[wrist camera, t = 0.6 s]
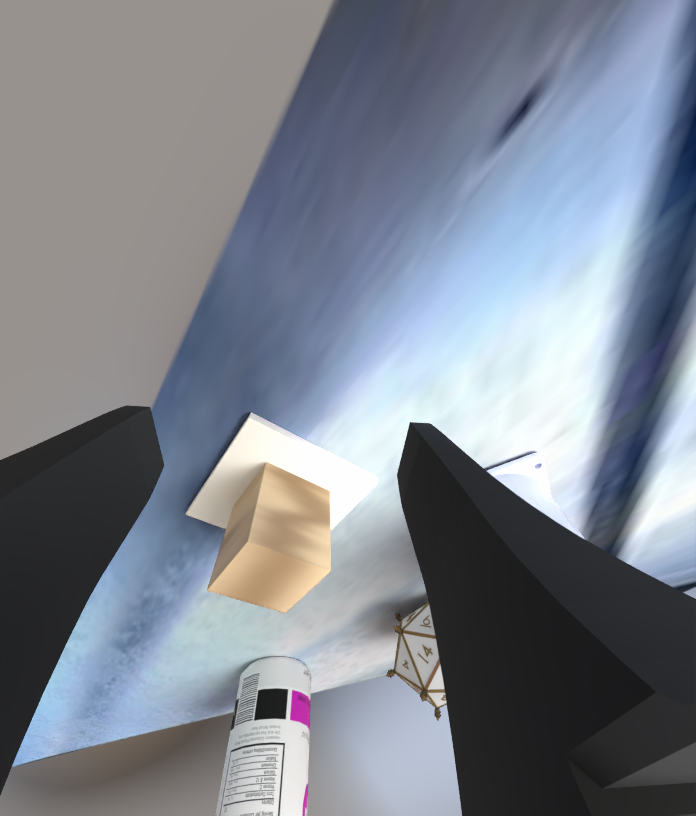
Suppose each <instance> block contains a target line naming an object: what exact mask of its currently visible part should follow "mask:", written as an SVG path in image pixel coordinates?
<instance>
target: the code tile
mask: <svg viewBox="0 0 696 816" xmlns="http://www.w3.org/2000/svg"><path fill="white" fill-rule="evenodd" d="M266 462H268V463H270V464H272V465H274V466H276V467H279V468H281V469H283V470H285V471H287V472H289V473H292V474H294V475H296V476H298V477H300V478H303V479H305V480H307V481H309V482H311V483H313V484H316V485H318V486H320V487H322V488H324V489H326V490H329V491H330V531H331V530H332V529H333V528H334V527H335V526H336V525H337V524H338V523H339V522H340V521H341V520H342V519H343V518H344V517H345V516H346V515H347V514H348V513H349V512H350V511H351V510H352V509H353V508H354V507H355V506H356V505H357V504H358V503H359V502H360V501H361V500H362V499H363V498H364V497H365V496H366V495H367V494H368V493H369V492H370V491H371V490H372V489H373V488H374V487H375V486H376V485H377V484H378V483H379V482H378V477H377V476H375V475H373V474H371V473H369V472H367V471H365V470H363V469H361V468H359V467H357V466H355V465H353V464H352V463H350V462H348V461H346V460H344V459H342V458H340V457H338V456H336V455H334V454H332V453H330V452H328V451H326V450H324V449H322V448H320V447H318V446H316V445H314V444H312V443H310V442H308V441H306V440H305V439H303V438H301V437H299V436H297V435H295V434H293V433H291V432H289V431H287V430H285V429H283V428H281V427H279V426H277V425H275V424H273V423H271V422H269V421H267V420H265V419H263V418H261V417H259V416H257V415H256V414H254V413H252V412H251V413H250V415H249V416H248V418H247V419H246V421H245V422H244V424H243V426H242V427H241V429H240V430H239V432H238V433H237V435H236V436H235V438H234V439H233V441H232V442H231V444H230V445H229V447H228V448H227V450H226V452H225V453H224V455H223V456H222V458H221V459H220V461H219V462H218V464H217V465H216V467H215V468H214V470H213V471H212V473H211V474H210V476H209V477H208V479H207V481H206V482H205V484H204V485H203V487H202V488H201V490H200V491H199V493H198V494H197V496H196V497H195V499H194V500H193V502H192V503H191V505H190V507H189V508H188V510H187V512H186V515H188V516H191V517H193V518H196V519H199V520H202V521H204V522H207V523H210V524H213V525H216V526H218V527H221V528H224V529H226V528H227V525H228V521H229V518H230V515H231V512H232V508H233V506H234V505H235V504H236V502H237V501H238V500H239V498H240V497H241V496H242V494H243V493H244V491H245V490H246V489H247V487H248V486H249V485H250V483H251V482H252V481H253V479H254V478H255V477H256V475H257V474H258V473H259V471H260V470H261V469H262V467H263V466H264V465H265V463H266Z"/></svg>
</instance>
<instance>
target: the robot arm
mask: <svg viewBox="0 0 696 816" xmlns="http://www.w3.org/2000/svg"><path fill="white" fill-rule="evenodd" d="M163 467H164V463H163V459H162V454H161V450H160V446H159V442H158V438H157V434H156V429H155V425H154V421H153V417H152V413H151V409H150V407H140V406H124V407H121V408H118V409H115V410H113V411H110V412H108V413H105V414H103V415H101V416H99V417H97V418H94V419H92V420H90V421H87V422H85V423H83V424H81V425H79V426H77V427H74V428H72V429H70V430H68V431H66V432H63V433H61V434H59V435H57V436H55V437H52V438H50V439H48V440H46V441H44V442H42V443H39V444H37V445H35V446H33V447H30V448H28V449H25V450H23V451H21V452H19V453H16V454H14V455H12V456H9V457H7V458H5V459H2V460H0V795H1V792H2V790H3V787H4V785H5V782H6V779H7V777H8V775H9V772H10V770H11V767H12V765H13V762H14V760H15V757H16V755H17V752H18V750H19V748H20V746H21V743H22V741H23V739H24V736H25V734H26V732H27V729H28V727H29V725H30V722H31V720H32V718H33V716H34V713H35V711H36V709H37V706H38V704H39V702H40V699H41V697H42V695H43V692H44V690H45V688H46V686H47V684H48V682H49V680H50V677H51V675H52V673H53V671H54V669H55V667H56V665H57V663H58V660H59V658H60V656H61V654H62V652H63V650H64V648H65V645H66V643H67V641H68V639H69V637H70V635H71V633H72V631H73V629H74V627H75V625H76V623H77V621H78V619H79V617H80V615H81V613H82V611H83V609H84V607H85V605H86V603H87V601H88V599H89V597H90V595H91V593H92V592H93V590H94V588H95V587H96V585H97V583H98V581H99V580H100V578H101V576H102V574H103V573H104V571H105V570H106V568H107V566H108V565H109V563H110V562H111V560H112V558H113V557H114V555H115V554H116V552H117V550H118V549H119V547H120V546H121V544H122V542H123V541H124V539H125V538H126V536H127V534H128V533H129V531H130V530H131V528H132V526H133V525H134V523H135V522H136V520H137V518H138V517H139V515H140V513H141V512H142V510H143V509H144V507H145V505H146V504H147V502H148V500H149V499H150V497H151V494H152V492H153V490H154V488H155V486H156V484H157V481H158V479H159V476H160V474H161V472H162V469H163ZM397 478H398V485H399V492H400V498H401V504H402V508H403V512H404V515H405V519H406V522H407V526H408V529H409V533H410V536H411V539H412V543H413V546H414V549H415V553H416V556H417V560H418V563H419V566H420V570H421V573H422V577H423V580H424V584H425V588H426V592H427V596H428V601H429V606H430V611H431V616H432V621H433V627H434V632H435V637H436V643H437V648H438V654H439V660H440V666H441V671H442V677H443V683H444V689H445V696H446V702H447V709H448V715H449V722H450V727H451V734H452V741H453V749H454V756H455V763H456V771H457V779H458V786H459V794H460V801H461V809H462V816H696V599H695V598H693V597H691V596H688V595H686V594H684V593H683V592H681V591H679V590H677V589H675V588H673V587H671V586H669V585H667V584H665V583H663V582H661V581H659V580H657V579H655V578H653V577H651V576H649V575H647V574H646V573H644V572H642V571H640V570H638V569H636V568H634V567H633V566H631V565H629V564H627V563H625V562H623V561H621V560H620V559H618V558H616V557H614V556H612V555H611V554H609V553H607V552H606V551H604V550H602V549H600V548H599V547H597V546H595V545H594V544H592V543H590V542H588V541H587V540H585V538H584V537H583V536H582V535H581V533H580V532H579V531H578V530H577V528H576V527H575V526H574V525H573V523H572V522H571V521H570V520H569V518H568V517H567V516H566V515H565V513H564V512H563V511H562V510H561V508H560V507H559V506H558V505H557V503H556V502H555V501H554V500H553V498H552V497H551V493H550V487H549V482H548V477H547V471H546V466H545V461H544V457H543V456H542V455H541V454H540V453H533V454H530V455H527V456H524V457H522V458H519V459H516V460H514V461H511V462H508V463H506V464H503V465H500V466H497V467H495V468H492V469H489V470H487V471H486V470H485V469H483V468H482V467H481V466H480V465H479V464H477V463H476V462H475V461H474V460H473V459H472V458H470V457H469V456H468V455H467V454H466V453H465V452H463V451H462V450H461V449H460V448H459V447H458V446H456V445H455V444H454V443H453V442H452V441H451V440H450V439H448V438H447V437H446V436H445V435H444V434H443V433H442V432H440V431H439V430H438V429H437V428H435V427H434V426H433V425H432V424H429V423H412V422H410V425H409V429H408V433H407V437H406V441H405V445H404V449H403V453H402V457H401V461H400V465H399V469H398V473H397Z"/></svg>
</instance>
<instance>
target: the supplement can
mask: <svg viewBox="0 0 696 816" xmlns="http://www.w3.org/2000/svg"><path fill="white" fill-rule="evenodd" d="M310 695H311V674H310V672H309V670H308V669H307V668H306V667H305V664H303V663H302V662H301V661H299V660H296V659H293V658H289V657H268V658H263V659H259V660H257V661H255V662H252V663H251V664H250V665H249V666H248V667H247V669H246V670H244V671H243V672H242V673H241V677H240V682H239V688H238V693H237V699H236V704H235V710H234V716H233V721H232V726H231V732H230V737H229V743H228V748H227V754H226V760H225V765H224V770H223V776H222V782H221V787H220V793H219V799H218V804H217V810H216V815H215V816H307V797H308V761H309V760H308V759H309V729H310Z"/></svg>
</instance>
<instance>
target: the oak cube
mask: <svg viewBox="0 0 696 816" xmlns="http://www.w3.org/2000/svg"><path fill="white" fill-rule="evenodd" d="M330 572H331V540H330V491H329V490H326V489H324V488H322V487H320V486H318V485H316V484H313V483H311V482H309V481H307V480H305V479H303V478H300V477H298V476H296V475H294V474H292V473H289V472H287V471H285V470H283V469H281V468H279V467H276V466H274V465H272V464H270V463H268V462H266V463H265V465H264V466H263V467H262V469H261V470H260V471H259V473H258V474H257V475H256V477H255V478H254V479H253V481H252V482H251V483H250V485H249V486H248V487H247V489H246V490H245V491H244V493H243V494H242V496H241V497H240V498H239V500H238V501H237V502H236V504H235V505H234V506H233V508H232V512H231V515H230V518H229V521H228V525H227V528H226V531H225V534H224V537H223V541H222V544H221V547H220V550H219V553H218V557H217V560H216V563H215V566H214V569H213V573H212V576H211V579H210V582H209V585H208V589H207V591H210V592H213V593H217V594H220V595H224V596H227V597H231V598H234V599H238V600H241V601H245V602H248V603H252V604H255V605H259V606H262V607H266V608H269V609H273V610H276V611H280V612H283V613H286V612H287V611H288V610H289V609H290V608H291V607H293V606H294V605H295V604H296V603H297V602H298V601H299V600H300V599H301V598H302V597H303V596H305V595H306V594H307V593H308V592H309V591H310V590H311V589H312V588H313V587H314V586H315V585H317V584H318V583H319V582H320V581H321V580H322V579H323V578H324V577H325V576H326V575H327V574H329V573H330Z"/></svg>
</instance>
